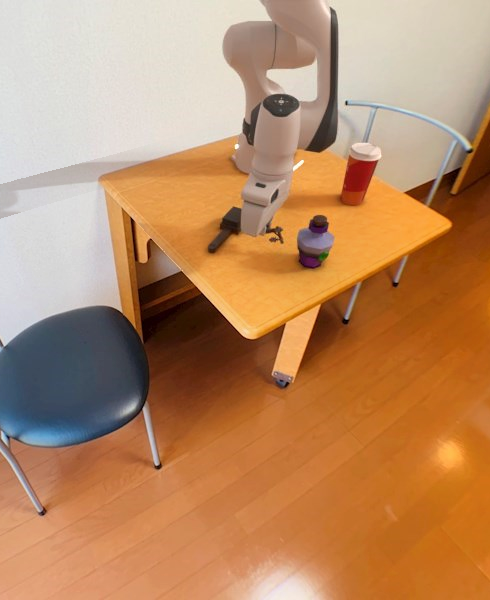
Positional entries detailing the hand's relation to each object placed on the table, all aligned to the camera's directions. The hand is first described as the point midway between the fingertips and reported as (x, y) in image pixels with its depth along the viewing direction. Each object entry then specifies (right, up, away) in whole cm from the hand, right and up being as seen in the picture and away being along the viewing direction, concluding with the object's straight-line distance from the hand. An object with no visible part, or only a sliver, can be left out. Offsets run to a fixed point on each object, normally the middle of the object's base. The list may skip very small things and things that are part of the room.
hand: (263, 231), depth 102 cm
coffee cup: (+28, +12, +19) cm, 36 cm away
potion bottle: (+11, -7, 0) cm, 13 cm away
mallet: (-8, +1, +8) cm, 11 cm away
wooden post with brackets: (+1, -2, +1) cm, 2 cm away
